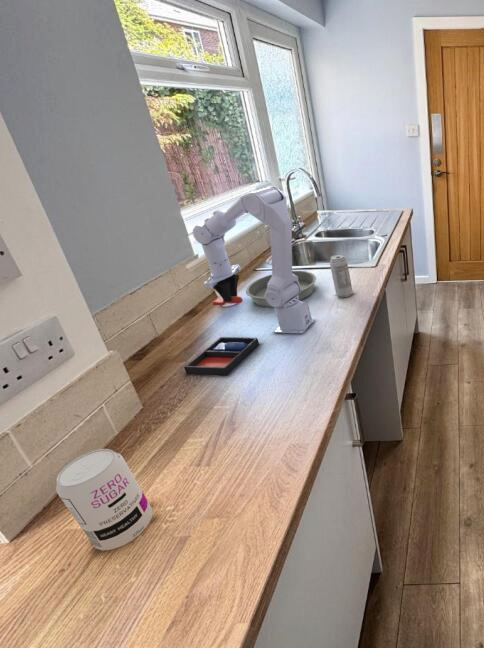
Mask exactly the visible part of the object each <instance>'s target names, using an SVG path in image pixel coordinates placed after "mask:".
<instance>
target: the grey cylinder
mask: <svg viewBox="0 0 484 648" xmlns="http://www.w3.org/2000/svg"><path fill="white" fill-rule="evenodd" d="M329 267H330V271H331V272H330V273H331V276H332V281H333V287H334V291H335V295H336V296H338V298H347V297H350V296H351V295H352V294H353V285H352V280H351V275H350V270H349V263H348V259H347V258H346V257H345V254H341V253H340V254H334V255H331V256H330V260H329Z"/></svg>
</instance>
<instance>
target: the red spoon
mask: <svg viewBox="0 0 484 648" xmlns="http://www.w3.org/2000/svg"><path fill="white" fill-rule="evenodd" d="M231 298H232V301H231V302H225V301H224V300H223V298H222V297H219V298H218V297H217V298H216V299H214V300H213V301H212V302H211V303H212V305H213V306H222V305H225V304H226V303H228V304H235V305H238V304H241V303H243V298H242V296H239V295H238V296H231Z"/></svg>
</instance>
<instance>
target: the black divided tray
mask: <svg viewBox="0 0 484 648" xmlns="http://www.w3.org/2000/svg"><path fill="white" fill-rule="evenodd" d="M228 342H243V343H245V344H246V345H247V346H246V347H245V348H244V349H243V350H242V351H231V350H228V351H213V349H214V348H215V347H216V346H217V345H218V344H220V343H228ZM259 346H260V342H259V339H258V337H244V336H243V337H240V336H239V337H235V336H220V337H218V338H217V339H216V340H215V341H214V342H212V343H211V344H210V345H208V346H207V347H206V348H204V350H203V351H202V352H200V353H198V355H197V356H195V357H194V358H193V359H192V360H191V361H189V362H188V363H187V364H185V365H184V366H183V368H184V371H185V373H186V375H194V376H195V375H197V376H218V377H220V376H221V377H222V376H223V377H228V376H229V375H230V374H231V373H232V372H233V371H234V370H235V369H237V367H238V366H240V364H241V363H242V362H244V360H246V359H247V358H248V357H249V356H250V355H251V354H252V353H253V352H254V351H255V350H257V348H258V347H259Z"/></svg>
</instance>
